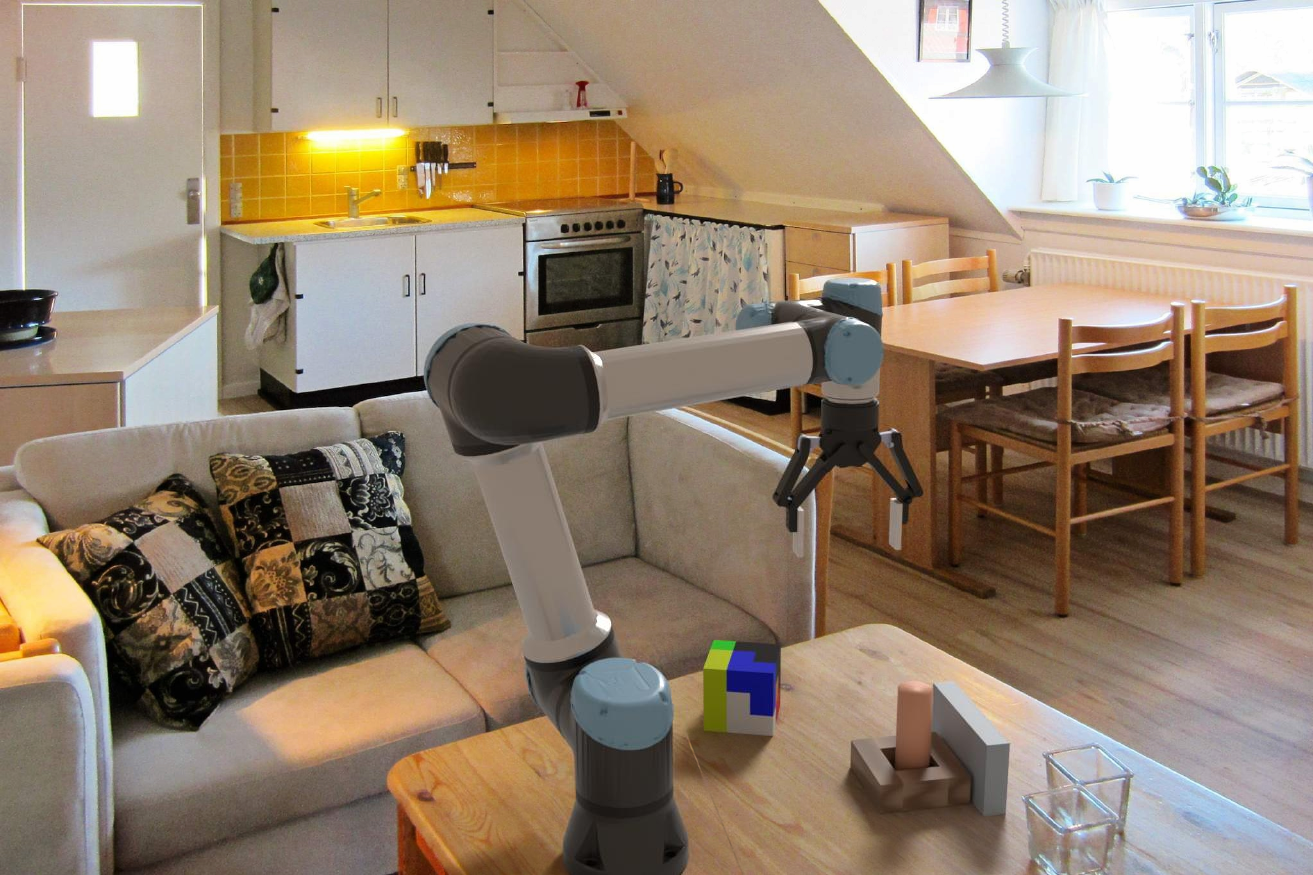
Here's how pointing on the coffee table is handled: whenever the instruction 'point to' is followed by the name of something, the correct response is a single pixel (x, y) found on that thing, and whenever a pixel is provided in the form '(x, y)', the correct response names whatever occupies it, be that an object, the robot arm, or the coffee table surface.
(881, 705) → the coffee table surface
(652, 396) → the robot arm
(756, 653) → the puzzle toy
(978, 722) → the board
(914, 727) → the dowel
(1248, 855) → the coffee table surface
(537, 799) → the coffee table surface
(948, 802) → the block
